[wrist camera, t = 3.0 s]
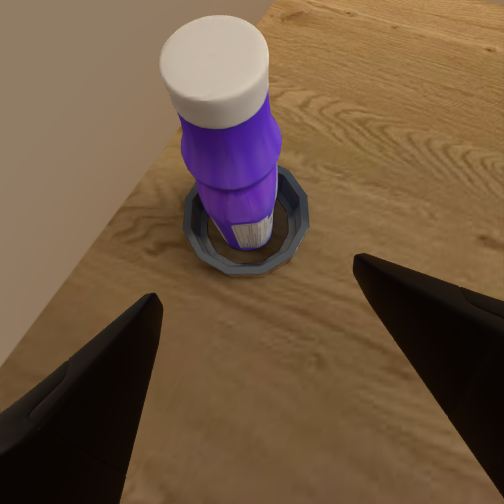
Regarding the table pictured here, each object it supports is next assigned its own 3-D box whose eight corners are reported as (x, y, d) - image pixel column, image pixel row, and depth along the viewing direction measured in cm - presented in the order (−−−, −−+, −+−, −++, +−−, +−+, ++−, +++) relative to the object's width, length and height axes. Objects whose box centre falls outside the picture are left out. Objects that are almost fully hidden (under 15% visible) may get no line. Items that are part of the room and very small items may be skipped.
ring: (320, 204, 24) (329, 188, 21) (268, 299, 22) (270, 299, 19) (229, 161, 26) (224, 140, 23) (173, 244, 24) (159, 235, 21)
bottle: (274, 252, 23) (305, 126, 6) (224, 256, 24) (127, 142, 7) (269, 194, 25) (283, -28, 8) (222, 198, 25) (141, -11, 8)
